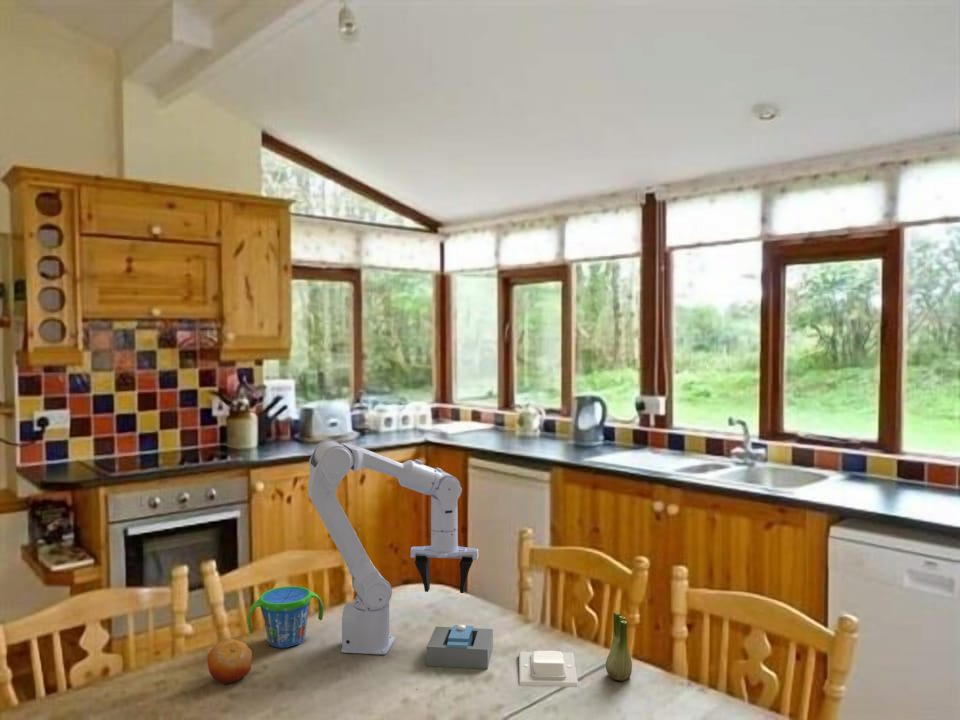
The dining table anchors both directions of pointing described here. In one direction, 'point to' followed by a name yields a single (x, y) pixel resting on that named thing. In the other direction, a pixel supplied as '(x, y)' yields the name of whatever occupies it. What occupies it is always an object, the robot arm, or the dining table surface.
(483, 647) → the block
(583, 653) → the dining table surface
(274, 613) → the snack cup
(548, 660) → the light switch
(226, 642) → the fruit
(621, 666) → the fennel bulb
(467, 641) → the servo
